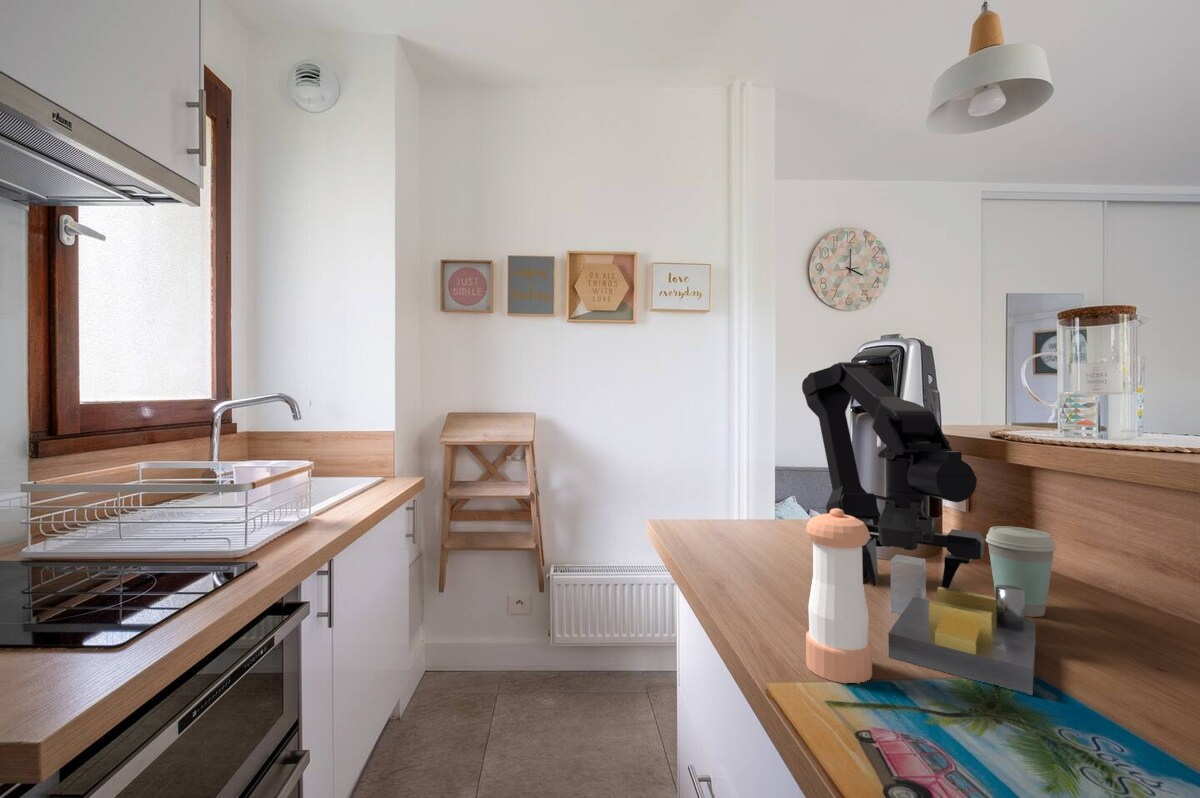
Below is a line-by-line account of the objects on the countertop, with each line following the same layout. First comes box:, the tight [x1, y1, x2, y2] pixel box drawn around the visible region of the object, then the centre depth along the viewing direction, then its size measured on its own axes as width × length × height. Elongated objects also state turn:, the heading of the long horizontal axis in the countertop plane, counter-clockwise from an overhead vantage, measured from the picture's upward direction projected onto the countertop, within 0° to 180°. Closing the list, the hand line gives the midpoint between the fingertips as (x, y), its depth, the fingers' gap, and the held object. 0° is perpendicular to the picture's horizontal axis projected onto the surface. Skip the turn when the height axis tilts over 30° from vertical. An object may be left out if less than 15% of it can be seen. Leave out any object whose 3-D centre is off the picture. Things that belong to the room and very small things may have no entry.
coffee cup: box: [985, 525, 1057, 618], centre depth 82 cm, size 9×9×12 cm
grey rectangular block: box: [890, 554, 927, 616], centre depth 81 cm, size 4×4×8 cm
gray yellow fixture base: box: [887, 585, 1036, 696], centre depth 68 cm, size 14×16×8 cm
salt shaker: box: [805, 508, 873, 684], centre depth 64 cm, size 7×7×19 cm
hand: (908, 592), depth 81 cm, fingers open, 9 cm apart
